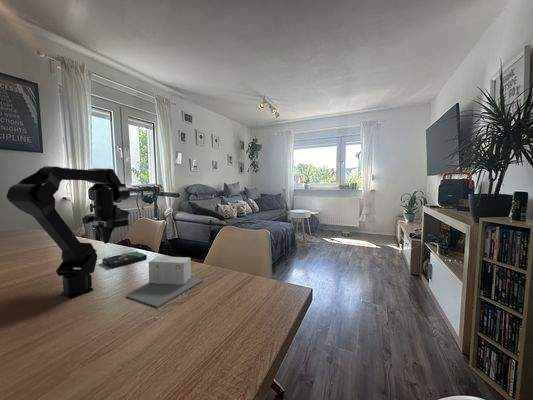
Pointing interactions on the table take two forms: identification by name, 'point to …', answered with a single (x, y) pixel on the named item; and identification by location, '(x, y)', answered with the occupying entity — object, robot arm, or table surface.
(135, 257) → the disk drive
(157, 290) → the mat
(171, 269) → the small box
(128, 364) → the table surface
